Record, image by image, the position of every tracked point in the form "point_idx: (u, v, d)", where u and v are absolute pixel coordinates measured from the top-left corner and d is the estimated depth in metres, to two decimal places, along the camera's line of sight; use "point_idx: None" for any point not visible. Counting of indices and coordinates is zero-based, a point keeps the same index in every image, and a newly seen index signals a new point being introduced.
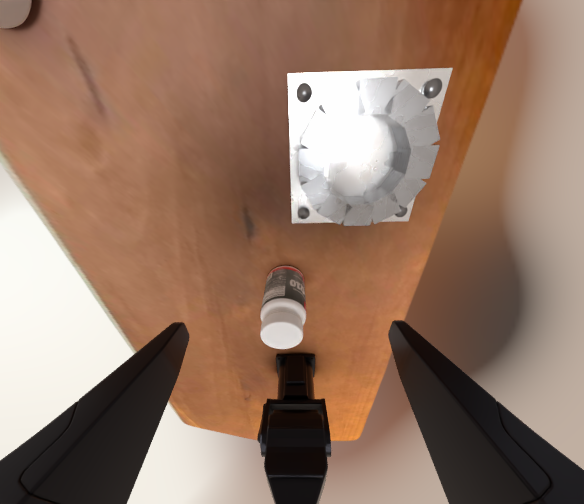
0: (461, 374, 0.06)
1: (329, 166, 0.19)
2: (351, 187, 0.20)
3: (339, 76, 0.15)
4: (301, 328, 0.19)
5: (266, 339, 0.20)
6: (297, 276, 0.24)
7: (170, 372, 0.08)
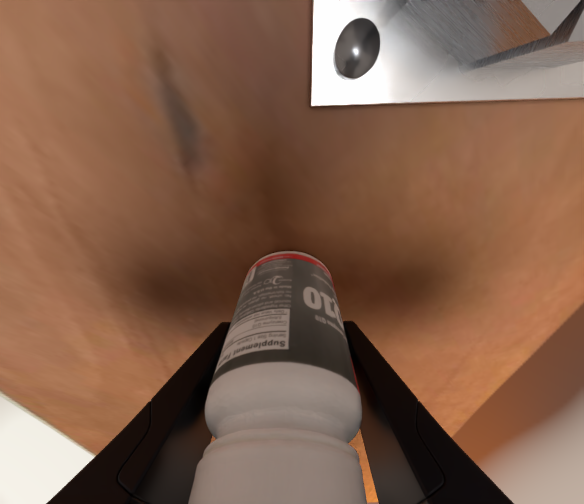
0: (394, 374, 0.06)
1: None
2: None
3: None
4: None
5: None
6: (321, 277, 0.09)
7: None
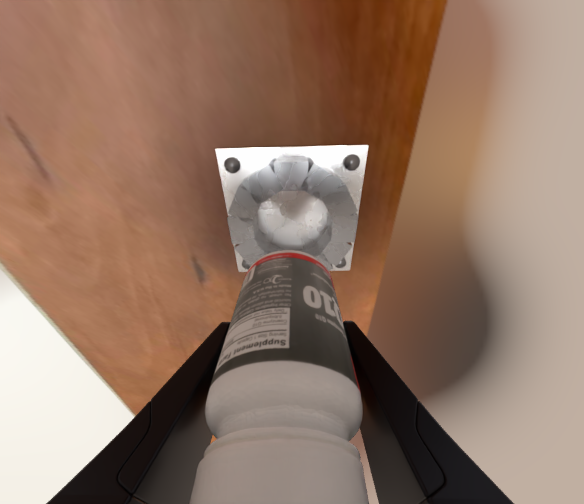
0: (394, 374, 0.07)
1: (266, 224, 0.20)
2: (290, 241, 0.21)
3: (264, 151, 0.16)
4: None
5: None
6: (320, 276, 0.09)
7: None
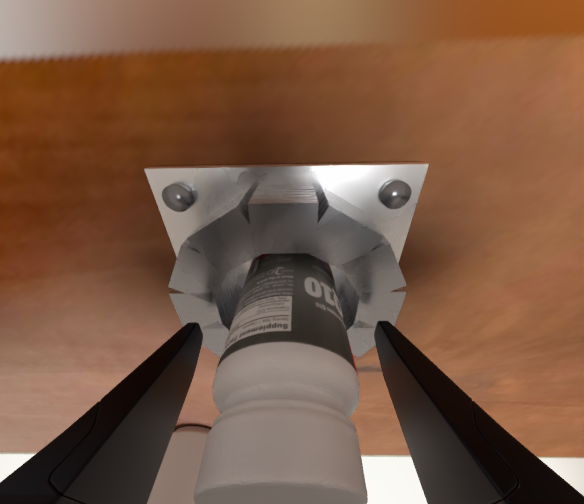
0: (440, 374, 0.06)
1: None
2: None
3: None
4: (362, 477, 0.05)
5: None
6: (321, 269, 0.10)
7: (186, 372, 0.08)
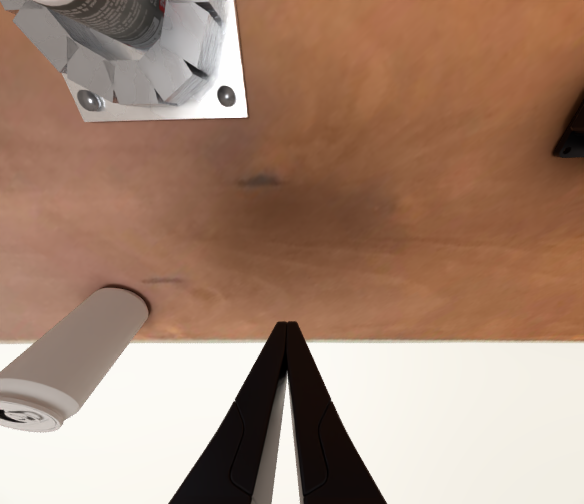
0: (319, 374, 0.07)
1: None
2: None
3: None
4: None
5: None
6: None
7: (285, 372, 0.08)
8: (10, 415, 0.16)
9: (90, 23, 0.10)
